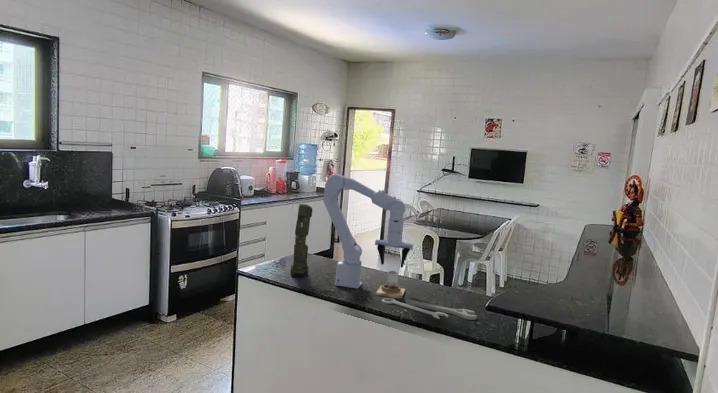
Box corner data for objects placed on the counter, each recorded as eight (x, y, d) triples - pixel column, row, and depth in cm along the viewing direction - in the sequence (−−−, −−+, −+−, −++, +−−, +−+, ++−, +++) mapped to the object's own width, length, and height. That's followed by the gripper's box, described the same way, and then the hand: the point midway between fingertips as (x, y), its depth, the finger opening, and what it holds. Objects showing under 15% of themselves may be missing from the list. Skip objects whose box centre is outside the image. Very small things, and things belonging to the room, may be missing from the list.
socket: (375, 295, 170) (376, 288, 170) (380, 287, 180) (381, 281, 179) (401, 298, 168) (402, 292, 168) (404, 291, 178) (405, 285, 177)
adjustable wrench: (403, 305, 163) (404, 300, 163) (410, 300, 169) (411, 296, 169) (473, 322, 152) (474, 316, 152) (478, 316, 157) (479, 311, 157)
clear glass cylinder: (384, 291, 172) (386, 271, 171) (387, 288, 176) (389, 269, 175) (394, 293, 171) (396, 273, 170) (397, 290, 175) (399, 271, 174)
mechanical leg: (305, 278, 180) (312, 203, 184) (287, 277, 180) (294, 201, 185) (309, 277, 194) (315, 207, 198) (292, 276, 194) (298, 205, 198)
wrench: (444, 323, 150) (450, 318, 154) (444, 318, 150) (450, 314, 154) (378, 302, 163) (386, 299, 168) (379, 298, 163) (386, 295, 168)
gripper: (374, 230, 175) (371, 265, 176) (412, 235, 171) (409, 270, 173) (378, 227, 181) (375, 261, 183) (414, 232, 178) (411, 266, 179)
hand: (392, 265), depth 178 cm, fingers open, 7 cm apart
